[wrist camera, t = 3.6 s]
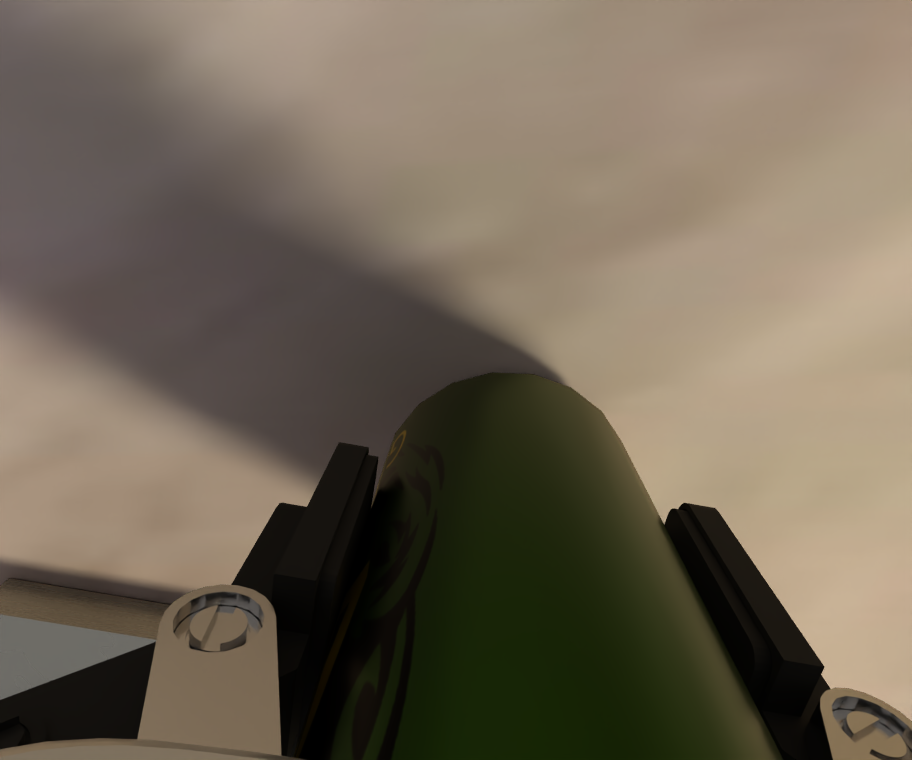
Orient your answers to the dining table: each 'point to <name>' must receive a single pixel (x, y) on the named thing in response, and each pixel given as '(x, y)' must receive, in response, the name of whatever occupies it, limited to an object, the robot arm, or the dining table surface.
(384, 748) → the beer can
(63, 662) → the rosette base
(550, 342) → the dining table surface
